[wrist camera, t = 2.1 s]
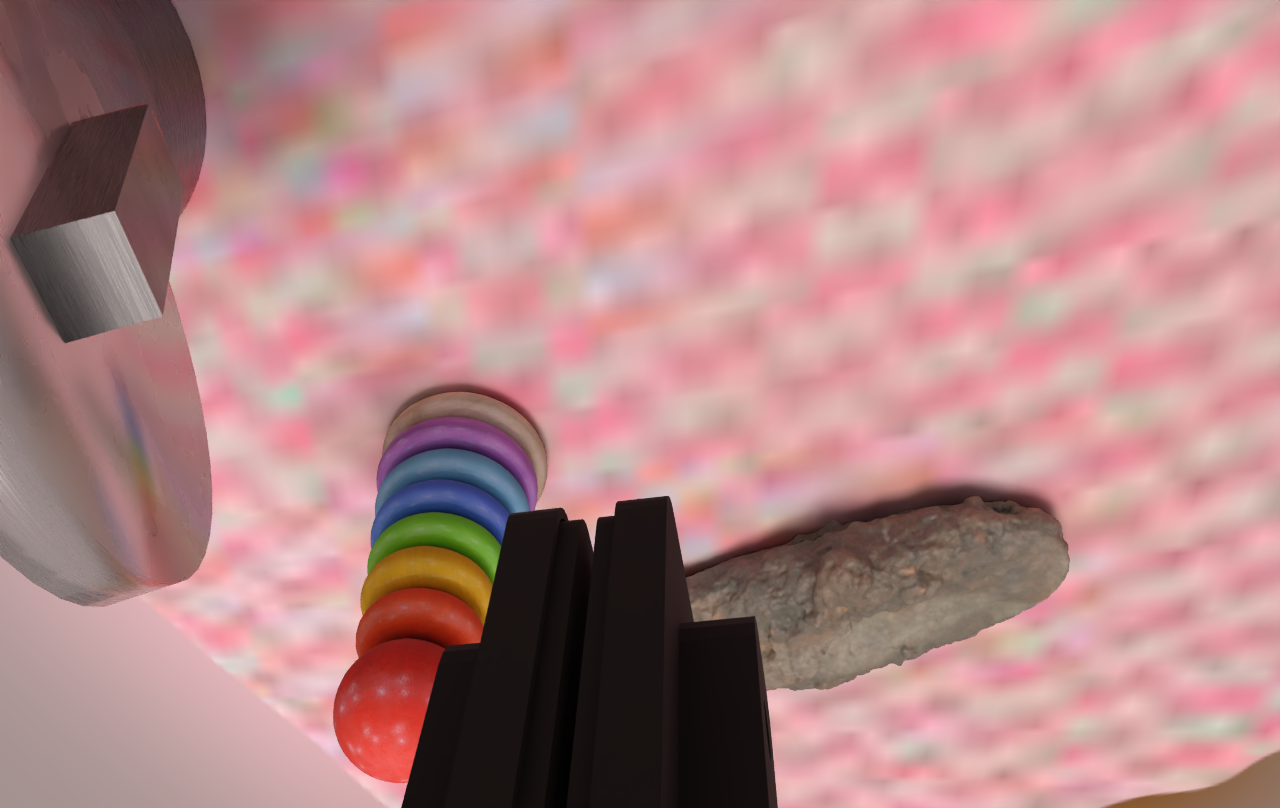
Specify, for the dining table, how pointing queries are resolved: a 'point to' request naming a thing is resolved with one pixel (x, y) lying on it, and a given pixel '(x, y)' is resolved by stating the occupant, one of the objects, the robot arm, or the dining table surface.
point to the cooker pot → (143, 70)
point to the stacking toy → (430, 563)
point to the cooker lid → (91, 335)
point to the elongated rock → (885, 587)
